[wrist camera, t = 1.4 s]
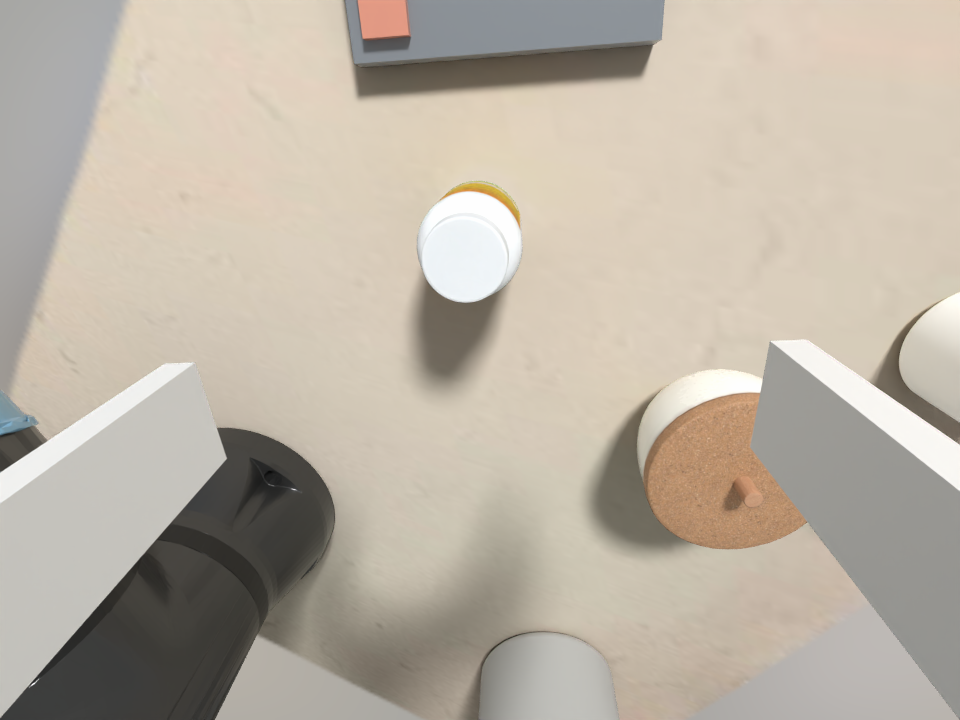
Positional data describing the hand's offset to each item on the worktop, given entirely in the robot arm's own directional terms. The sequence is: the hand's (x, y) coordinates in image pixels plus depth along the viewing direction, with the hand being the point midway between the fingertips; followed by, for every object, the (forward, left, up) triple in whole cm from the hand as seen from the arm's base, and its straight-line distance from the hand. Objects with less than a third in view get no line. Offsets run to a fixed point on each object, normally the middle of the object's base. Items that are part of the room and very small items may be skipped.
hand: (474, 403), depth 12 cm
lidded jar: (+14, -13, -22) cm, 29 cm away
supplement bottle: (-1, +1, -22) cm, 22 cm away
